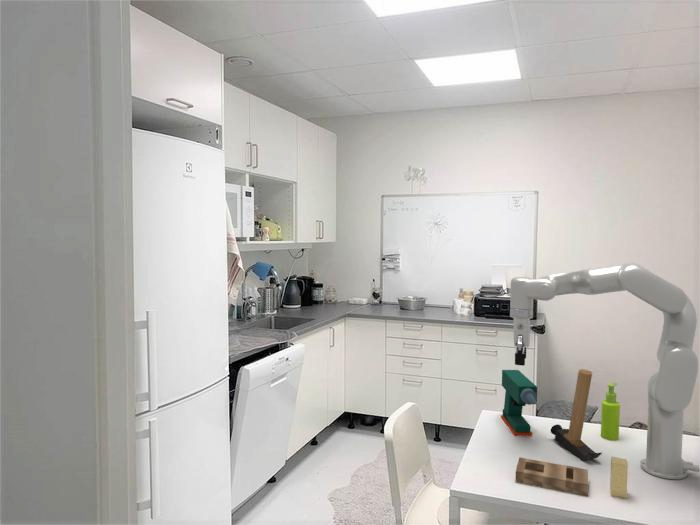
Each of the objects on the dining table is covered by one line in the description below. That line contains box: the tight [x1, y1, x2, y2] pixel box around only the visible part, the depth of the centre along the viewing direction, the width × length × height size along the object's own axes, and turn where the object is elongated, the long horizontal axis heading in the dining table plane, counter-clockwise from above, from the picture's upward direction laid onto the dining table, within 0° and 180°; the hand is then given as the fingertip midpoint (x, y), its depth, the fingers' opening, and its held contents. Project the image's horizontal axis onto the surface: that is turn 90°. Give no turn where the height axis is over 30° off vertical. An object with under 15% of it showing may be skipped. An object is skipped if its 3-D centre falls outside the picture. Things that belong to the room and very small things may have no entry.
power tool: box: [500, 369, 538, 437], centre depth 189 cm, size 32×7×20 cm, turn 179°
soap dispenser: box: [600, 382, 621, 441], centre depth 186 cm, size 6×7×20 cm
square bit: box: [609, 456, 629, 500], centre depth 146 cm, size 4×4×10 cm
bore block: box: [515, 456, 589, 497], centre depth 154 cm, size 20×10×4 cm, turn 66°
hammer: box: [550, 368, 603, 461], centre depth 172 cm, size 20×5×30 cm, turn 14°
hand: (520, 361), depth 176 cm, fingers open, 9 cm apart
